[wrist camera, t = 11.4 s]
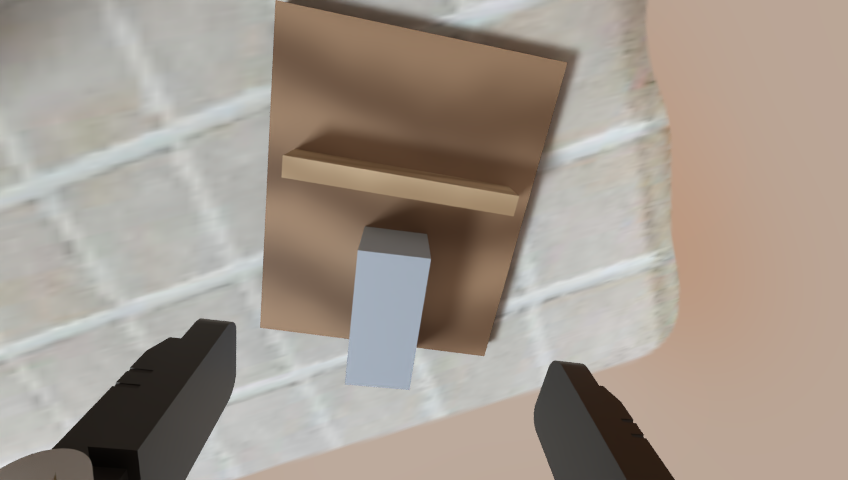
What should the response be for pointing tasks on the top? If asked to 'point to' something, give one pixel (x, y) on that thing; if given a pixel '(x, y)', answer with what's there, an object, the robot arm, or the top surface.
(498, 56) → the board
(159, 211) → the top surface
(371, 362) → the block
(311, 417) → the top surface
